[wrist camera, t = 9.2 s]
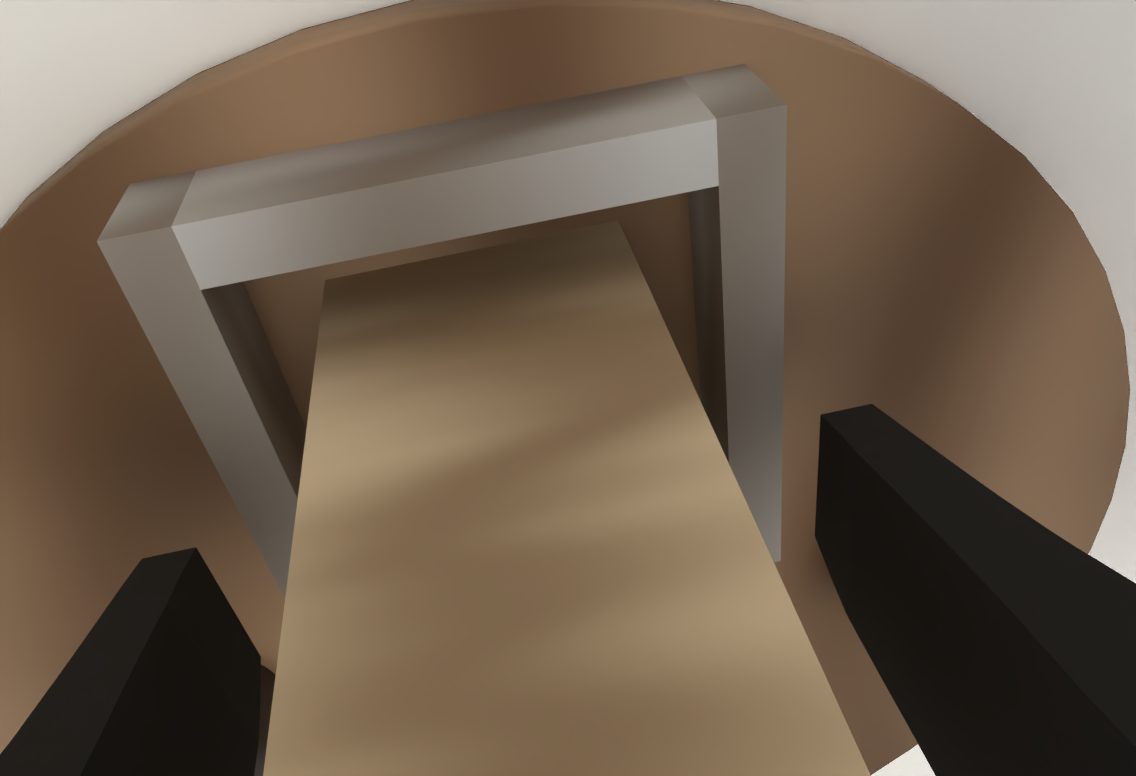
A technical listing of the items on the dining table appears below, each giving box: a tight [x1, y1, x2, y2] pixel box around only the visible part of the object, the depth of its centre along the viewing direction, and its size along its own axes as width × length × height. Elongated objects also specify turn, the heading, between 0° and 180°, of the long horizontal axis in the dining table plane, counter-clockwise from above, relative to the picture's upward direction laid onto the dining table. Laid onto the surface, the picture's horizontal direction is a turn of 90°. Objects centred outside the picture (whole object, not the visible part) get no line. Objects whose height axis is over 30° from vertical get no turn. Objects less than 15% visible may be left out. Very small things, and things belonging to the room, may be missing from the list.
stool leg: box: [263, 221, 871, 776], centre depth 10 cm, size 4×4×8 cm
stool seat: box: [0, 0, 1130, 776], centre depth 16 cm, size 22×22×4 cm
